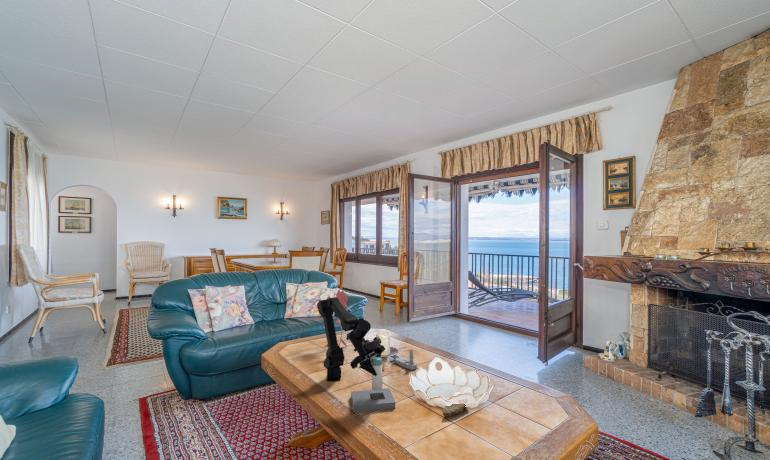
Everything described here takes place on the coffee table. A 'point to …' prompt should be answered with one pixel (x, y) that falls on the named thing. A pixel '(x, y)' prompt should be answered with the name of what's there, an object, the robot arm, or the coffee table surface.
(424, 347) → the coffee table surface
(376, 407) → the socket board
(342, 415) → the coffee table surface
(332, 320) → the robot arm
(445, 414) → the stone
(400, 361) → the electronic device
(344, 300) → the figurine
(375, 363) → the peg
